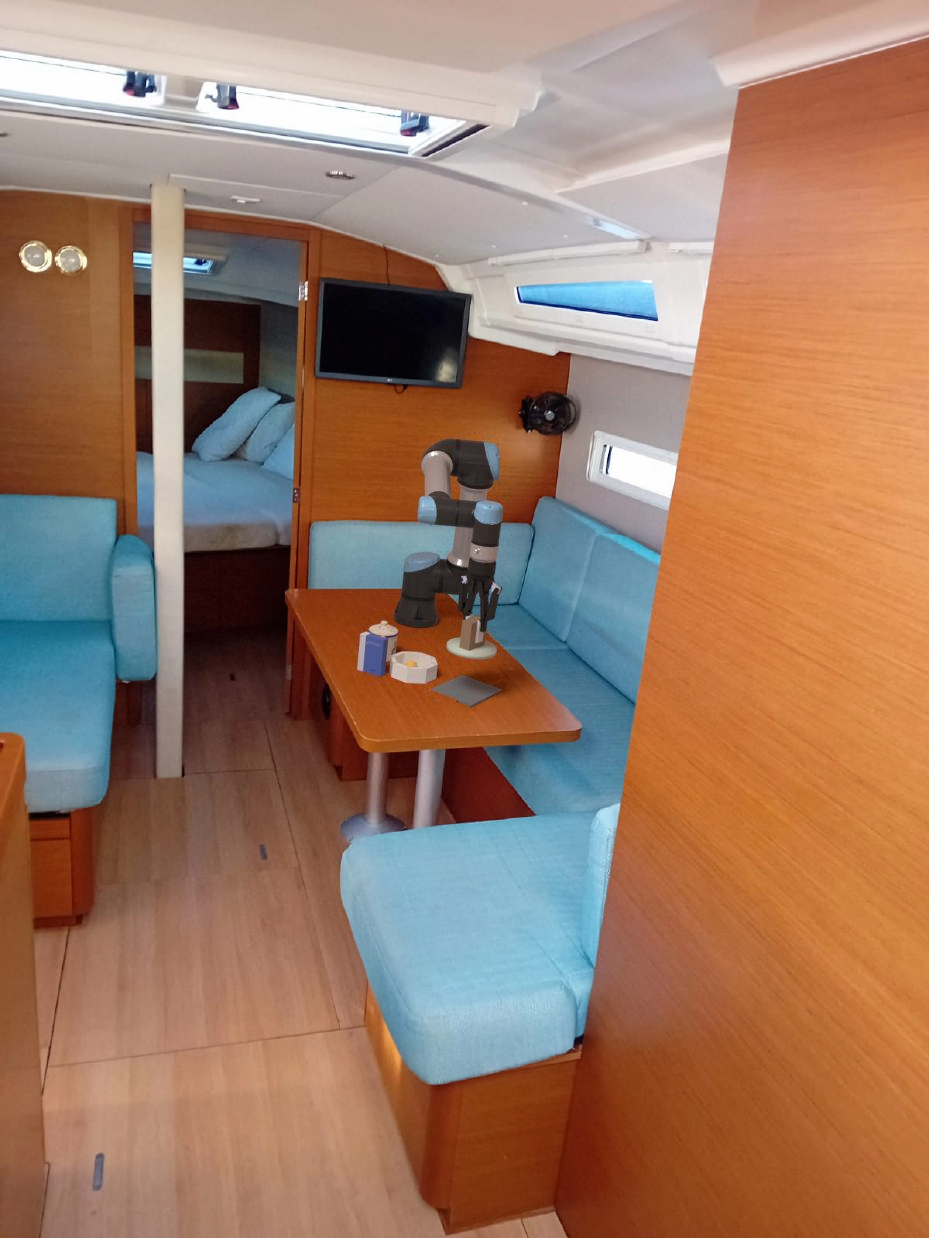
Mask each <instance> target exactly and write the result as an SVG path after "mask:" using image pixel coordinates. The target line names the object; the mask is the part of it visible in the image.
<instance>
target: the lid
mask: <svg viewBox="0 0 929 1238" xmlns="http://www.w3.org/2000/svg"><path fill="white" fill-rule="evenodd" d="M479 619H480V614H476V615H474V616H473V617H471V618H468V619H465V620H463V619H462V621H461V622H462V623H461V631H460V636H459V637H454V638H451V639H448V640H447V642H446V650H447V651H448V652H449V653H451V654H452V655H454V656H457V657H460V658H463V659H470V660H487V659H492V658H494V657H495V656H496V655H497V651H498V649H497V646H496V645H495V644H494V643H492V642H490V641H488V640H486V636H487V630H486V631H485V632H484V633H483V641H482V642H479V643H475V638H476V630H477V622H478V620H479Z"/></svg>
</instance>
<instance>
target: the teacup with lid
mask: <svg viewBox="0 0 929 1238" xmlns="http://www.w3.org/2000/svg"><path fill="white" fill-rule="evenodd" d="M367 632H369V633H372V634H376V635H379V636H381V635H383V636H385V637H386V638H388V648H387V658H386V662H390V658H391V655H394V654H397V644H398V635H399V634H400V633H399V629H398V628H397V627H396V626H393V625H391V624H389V623H388V621H387V620H381V621H380V623H377V624H373V625H370V626H369V628H368V630H367Z"/></svg>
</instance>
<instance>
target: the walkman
mask: <svg viewBox="0 0 929 1238" xmlns="http://www.w3.org/2000/svg"><path fill="white" fill-rule="evenodd" d="M387 648H388V638H386V637H385V636H383V635H381V636H379V635H376V634H372V633H369V632H368V631H364V632H361V633H360V634H359V647H358V655H357V656H358V657H357V667H356V669H357V671H360V672H363V673H366V674H371V675H373V676H377V677H382V676H384V675H385V674H386V668H387V667H386V665H387V661H386V658H387Z"/></svg>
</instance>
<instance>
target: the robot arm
mask: <svg viewBox="0 0 929 1238" xmlns="http://www.w3.org/2000/svg"><path fill="white" fill-rule="evenodd" d="M500 458H501V457H500V448H499V446H498V445H497V443H493V442H487V441H485V440H483V441H480V440H479V441H478V440H469V439H459V438H452V437H451V438H445V439H440V440H438V441H436V442H434V443H433V444H431V445H430V446H428V447H427V449H426V450H425V451H424V453H423V455H422V457H421V463H420V467H421V472H422V473H423V475H424V495H422V496H420V497H419V499H418V508H417V521H418V523H420V524H426V525H430V526H433V525H436V526H445V527H448V526H449V527H454V535H453V543H452V548H451V549H452V550H451V551H449V552H448V553H447V555H446V558H441V556H440V554H439V553H437V552H432V551H419V552H414V553H411V554H410V553H409V554H408V555H407V556H406V557H405V560H404V563H403V568H402V571H403V575H402V583H401V592H400V598H399V600H398V602H397V605H396V607H395V610H394V612H393V620H394V621H395V622H396V623H398V624H400V625H402V626H406V627H412V628H421V629H422V628H431V627H435V626H436V625H438V624H439V623H438V622H439V614H438V608H437V603H436V594H443V595H444V594H445V595H451V596H458V604H457V610H458V613H462V615H463V618H462V620H465V619H468V618H471V617H473V616H475V615H474V614H473V608H474V604H475V601H476V597H477V596H478V597H479V607H480V608H479V610H480V612H479V615H480V619H479V620H478V622H477V630H476V638H475V643H479V642H482V641H483V633H484V632H485V631H486V632H487V628H488V622H490V621H492V620H495V617H496V613H497V607H498V603H499V598H500V594H501V593H502V591H503V586H502V585H501V586H498V585H497V584H496V583H495V574H496V569H497V561H496V560H498V554H499V547H500V546H499V545H500V536H501V530H502V523H503V519H504V514H503V513H504V506H503V505H502V503H499V502H498V501H492V500H487V495H488V491H489V490H491V489H492V488H493V487H494V482H498V481H500V477H501V476H500V475H501V459H500ZM451 477H455V478H456V483H457V484H458V485H459V486H460V490H459V491H460V493H459V499H455V498H452V487H451V486H452V485H451ZM490 590H491V593H490ZM489 596H490V597H489Z"/></svg>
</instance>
